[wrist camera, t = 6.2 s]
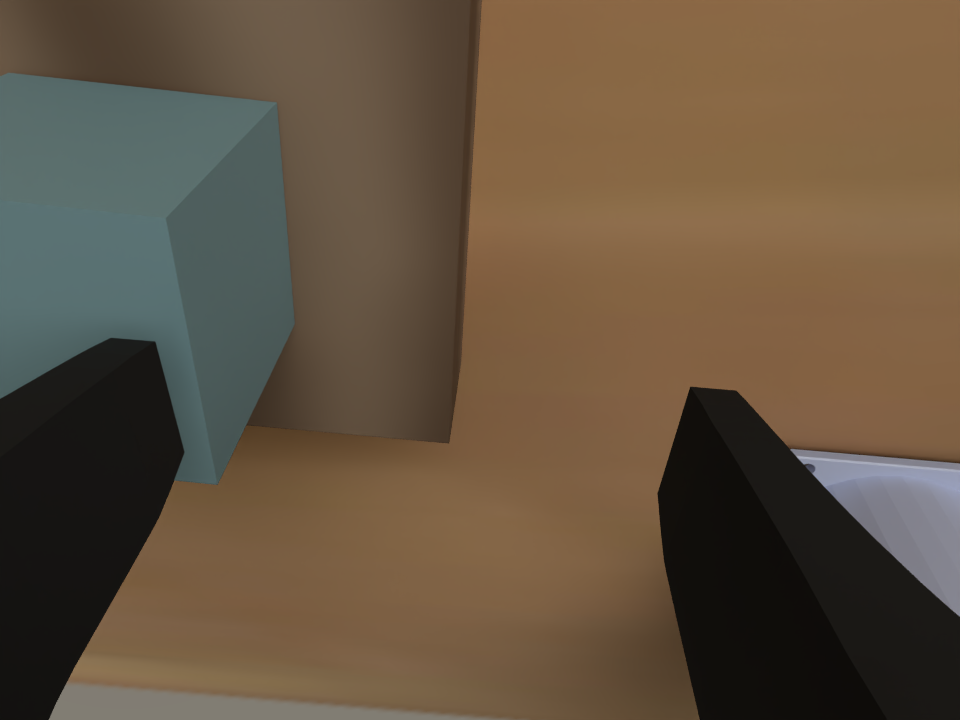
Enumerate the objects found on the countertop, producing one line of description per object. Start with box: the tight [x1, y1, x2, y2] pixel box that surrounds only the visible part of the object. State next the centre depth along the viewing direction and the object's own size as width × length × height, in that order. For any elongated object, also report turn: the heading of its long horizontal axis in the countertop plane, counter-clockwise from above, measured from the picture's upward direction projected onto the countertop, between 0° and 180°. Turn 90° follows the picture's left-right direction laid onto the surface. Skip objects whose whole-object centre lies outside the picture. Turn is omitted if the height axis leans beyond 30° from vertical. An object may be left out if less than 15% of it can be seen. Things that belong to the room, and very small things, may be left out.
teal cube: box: [0, 73, 295, 485], centre depth 12 cm, size 5×5×5 cm
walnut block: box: [0, 0, 482, 443], centre depth 16 cm, size 12×12×4 cm
